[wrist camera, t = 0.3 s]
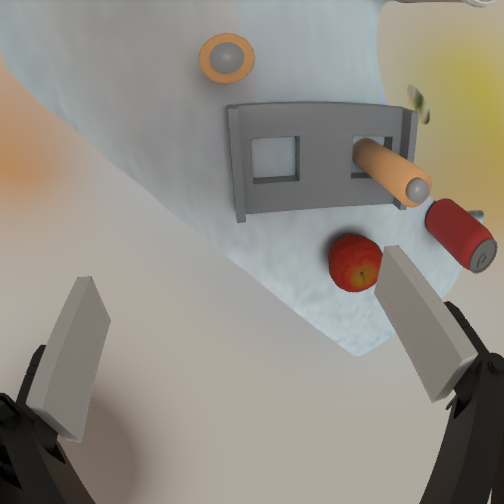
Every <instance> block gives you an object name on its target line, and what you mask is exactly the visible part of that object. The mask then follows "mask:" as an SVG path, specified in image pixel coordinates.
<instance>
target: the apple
mask: <svg viewBox="0 0 504 504" xmlns="http://www.w3.org/2000/svg"><path fill="white" fill-rule="evenodd" d="M382 257H383V253H382V251H381V250H380V248H379V246H378V245H377V244H376V243H375V242H373V241H371V240H369V239H367V238H366V237H363V236H361V235H352V234H349V235H346V236H343V237H341V238H340V239H338V240H337V241H336V242H335V243H334V244H333V245H332V247H331V249H330V253H329V256H328V260H329V272H330V275H331V278H332V279H333V281H334V282H335V284H336V285H337V286H338V287H339V288H341V289H343V290H345V291H348V292H360V291H363V290H366V289H368V288H370V287H371V286H373V285H374V284H375V283H376V282H377V279H378V275H379V270H380V266H381V261H382Z"/></svg>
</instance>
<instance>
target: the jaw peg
mask: <svg viewBox="0 0 504 504" xmlns="http://www.w3.org/2000/svg"><path fill="white" fill-rule="evenodd" d="M199 64H200V67H201V69H202V71H203V73H204V74H205V75H206V76H207V77H208V78H210V79H211V80H213V81H215V82H218V83H225V84H226V83H234V82H237V81H239V80H241V79H243V78H244V77H245V76H246V75H248V73H249V72H250V71H251V69H252V67H253V64H254V52H253V49H252V47H251V45H250V44H249V43H248V41H246V40H245V39H244V38H243V37H241V36H238V35H236V34H230V33H225V34H219V35H216V36H214V37H212V38H211V39H209V40H208V41H207V42H206V43H205V44H204V45H203V47H202V49H201V51H200V54H199Z"/></svg>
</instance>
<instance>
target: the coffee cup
mask: <svg viewBox="0 0 504 504" xmlns="http://www.w3.org/2000/svg"><path fill="white" fill-rule="evenodd" d="M396 1H398V2H402V3H414V2H415V3H416V2H465V3H467V4H469V5H471V6H474V7H480V8H481V7H486V6H488V5H490V4H492V3H493V2H494V1H495V0H396Z"/></svg>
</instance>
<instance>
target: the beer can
mask: <svg viewBox="0 0 504 504" xmlns="http://www.w3.org/2000/svg"><path fill="white" fill-rule="evenodd" d="M426 227H427V229H428V231H429V232H430V233H431V234H432V235H433V236H434V237H435V238H436V239H437V240H438V241H439V243H440V244H441V245H442V246H443V247H444V248H445V249H446V250H447V251H448V252H449V253H450V254H451V255H452V256H453V257H454V258H455V259H456V260H457V261H458V263H459V264H460V265H462V266H463V267H464V268H466V269H468V270H470V271H472V272H473V273H476V274H477V273H480V272H482V271H484V270H486V268H488V267H489V266H490V264H491V263H492V262H493V260H494V258H495V256H496V253H497V242H496V241H495V240H494V239H493V236H492V235H491V233H490V232H489V231H488V229H487V228H486V227H484V226H483V225H482V224H481V223H480V222H479V221H477V220H476V219H475V218H474V217H473V216H471V215H470V214H469V213H468V212H466V211H465V210H464V209H463V208H461V207H460V206H459V205H457V204H456V203H455V202H454V201H452V200H450V199H441V200H439V201H437V202H436V203H434V204H433V205H432V207H431V208H430V210H429V212H428V214H427V218H426Z"/></svg>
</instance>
